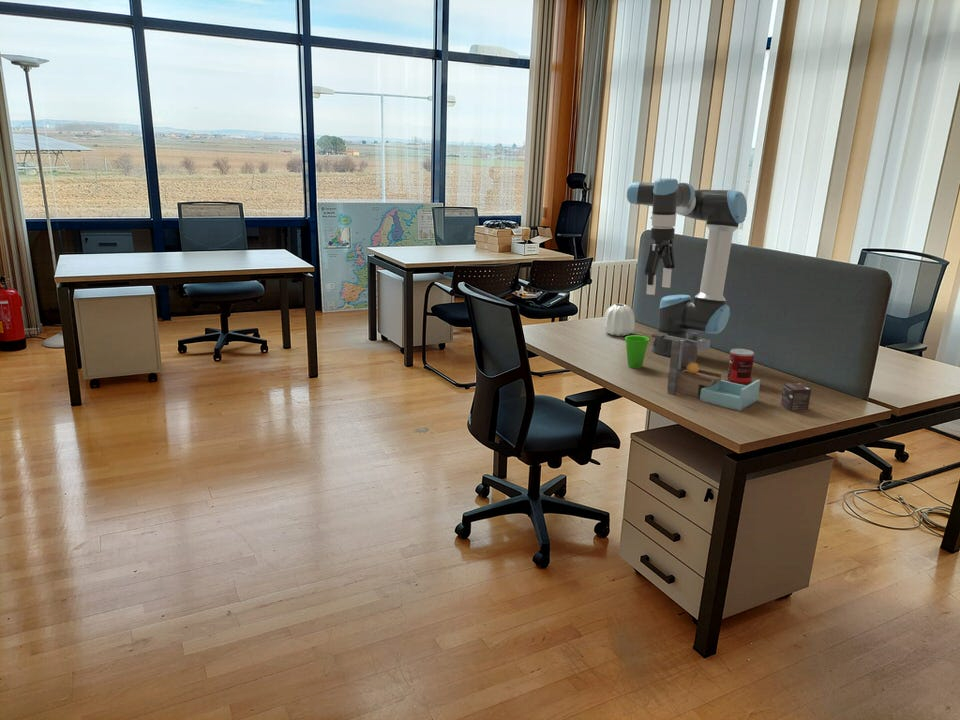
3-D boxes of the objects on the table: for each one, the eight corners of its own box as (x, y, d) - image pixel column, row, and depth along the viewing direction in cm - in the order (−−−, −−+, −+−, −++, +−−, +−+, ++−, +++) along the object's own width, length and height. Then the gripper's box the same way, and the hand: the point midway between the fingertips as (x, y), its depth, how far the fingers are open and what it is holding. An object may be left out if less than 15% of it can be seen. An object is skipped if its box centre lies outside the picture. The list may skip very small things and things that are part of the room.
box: (780, 404, 220) (783, 383, 218) (798, 404, 220) (801, 382, 218) (790, 411, 214) (793, 389, 212) (808, 411, 214) (811, 389, 212)
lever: (660, 360, 244) (663, 327, 240) (712, 371, 231) (715, 337, 228) (644, 367, 236) (647, 333, 232) (697, 379, 223) (700, 344, 220)
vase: (609, 338, 298) (611, 308, 294) (598, 330, 311) (600, 302, 307) (639, 337, 301) (641, 307, 297) (626, 329, 314) (628, 300, 310)
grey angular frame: (682, 381, 241) (687, 331, 236) (723, 391, 231) (729, 338, 226) (662, 391, 231) (667, 338, 226) (704, 402, 221) (710, 347, 216)
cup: (647, 370, 254) (649, 342, 251) (622, 368, 256) (624, 340, 252) (647, 363, 262) (649, 335, 259) (622, 362, 264) (624, 334, 261)
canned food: (733, 376, 248) (736, 347, 245) (754, 381, 242) (758, 351, 239) (723, 380, 243) (726, 351, 240) (744, 386, 237) (748, 355, 234)
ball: (689, 371, 233) (690, 360, 232) (700, 374, 230) (701, 362, 229) (683, 374, 230) (684, 362, 229) (694, 376, 228) (696, 365, 226)
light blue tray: (717, 390, 232) (720, 371, 230) (757, 400, 223) (760, 379, 221) (699, 400, 223) (701, 380, 221) (740, 410, 214) (743, 389, 212)
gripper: (666, 222, 236) (661, 283, 242) (636, 230, 217) (632, 296, 223) (687, 224, 232) (682, 285, 238) (659, 232, 212) (654, 298, 219)
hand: (658, 290), depth 231 cm, fingers open, 13 cm apart
